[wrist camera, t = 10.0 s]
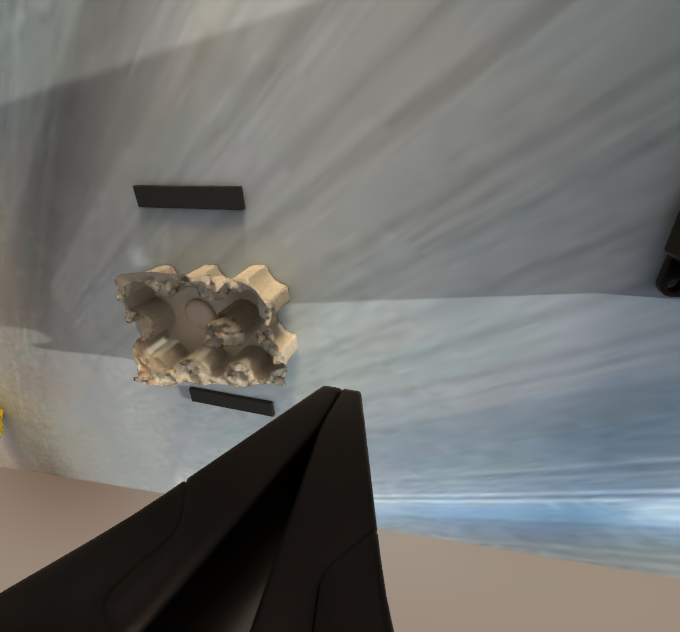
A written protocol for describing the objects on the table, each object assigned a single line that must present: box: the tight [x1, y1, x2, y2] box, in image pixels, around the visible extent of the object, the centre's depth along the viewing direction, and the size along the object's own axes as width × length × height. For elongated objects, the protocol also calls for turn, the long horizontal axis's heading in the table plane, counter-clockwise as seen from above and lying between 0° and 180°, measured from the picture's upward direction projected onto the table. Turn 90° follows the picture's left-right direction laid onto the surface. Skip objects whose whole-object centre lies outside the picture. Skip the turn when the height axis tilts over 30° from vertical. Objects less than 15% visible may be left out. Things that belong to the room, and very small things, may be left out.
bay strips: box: [133, 185, 275, 417], centre depth 23 cm, size 7×16×1 cm, turn 1°
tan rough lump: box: [114, 265, 298, 387], centre depth 22 cm, size 11×8×4 cm
